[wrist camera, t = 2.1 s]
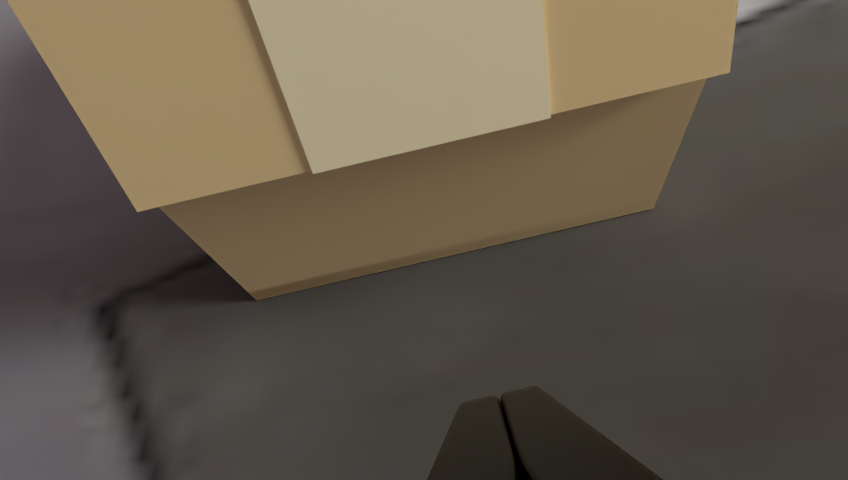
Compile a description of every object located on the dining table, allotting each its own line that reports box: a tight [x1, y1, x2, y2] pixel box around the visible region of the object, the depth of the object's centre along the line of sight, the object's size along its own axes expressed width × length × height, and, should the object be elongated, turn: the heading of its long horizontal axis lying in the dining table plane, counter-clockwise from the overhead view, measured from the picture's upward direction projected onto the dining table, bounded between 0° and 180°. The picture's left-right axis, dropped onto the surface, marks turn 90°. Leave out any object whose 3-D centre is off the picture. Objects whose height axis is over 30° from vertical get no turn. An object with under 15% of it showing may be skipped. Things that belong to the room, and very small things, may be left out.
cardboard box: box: [159, 78, 707, 300], centre depth 22 cm, size 10×12×8 cm
